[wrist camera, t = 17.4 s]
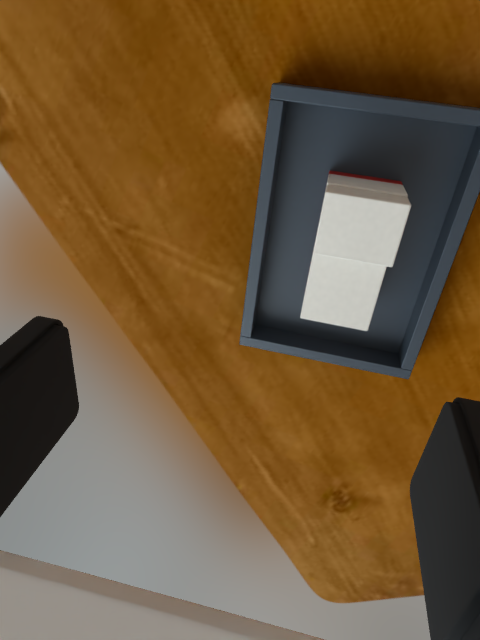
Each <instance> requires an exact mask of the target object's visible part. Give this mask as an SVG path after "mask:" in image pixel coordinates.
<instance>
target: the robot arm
mask: <svg viewBox="0 0 480 640" xmlns="http://www.w3.org/2000/svg"><path fill="white" fill-rule="evenodd" d="M78 410H79V402H78V395H77V388H76V381H75V374H74V367H73V360H72V353H71V345H70V339H69V333H68V329H67V328H66V327H64V326H63V323H62V322H61V321H60V320H56V319H51V318H46V317H41V316H37V317H35V318H33V319H32V320H31V321H29V322H28V323H27V324H26V325H24V326H23V327H22V328H21V329H20V330H18V331H17V332H16V333H15V334H13V335H12V336H11V337H10V338H9V339H7V340H6V341H5V342H4V343H3V344H2V345H0V517H1V515H2V514H3V513H4V511H5V510H6V509H7V507H8V506H9V505H10V504H11V502H12V501H13V500H14V498H15V497H16V496H17V494H18V493H19V492H20V490H21V489H22V488H23V486H24V485H25V484H26V483H27V481H28V480H29V478H30V477H31V476H32V475H33V473H34V472H35V471H36V469H37V468H38V467H39V465H40V464H41V463H42V461H43V460H44V459H45V458H46V456H47V455H48V453H49V452H50V451H51V450H52V448H53V447H54V446H55V444H56V443H57V442H58V440H59V439H60V438H61V436H62V435H63V434H64V432H65V431H66V430H67V429H68V427H69V426H70V425H71V423H72V422H73V421H74V419H75V418H76V416H77V413H78ZM410 497H411V504H412V511H413V518H414V525H415V532H416V539H417V546H418V553H419V560H420V567H421V574H422V581H423V588H424V595H425V602H426V609H427V616H428V623H429V630H430V637H431V640H480V402H479V401H474V400H469V399H464V398H459V397H458V398H456V399H455V400H454V401H453V403H451V402H446V403H445V404H444V406H443V408H442V410H441V413H440V415H439V417H438V419H437V422H436V424H435V426H434V429H433V431H432V433H431V436H430V438H429V440H428V443H427V445H426V447H425V449H424V452H423V454H422V456H421V459H420V461H419V463H418V466H417V468H416V470H415V472H414V475H413V477H412V480H411V484H410ZM0 640H324V639H321V638H317V637H313V636H310V635H306V634H303V633H299V632H296V631H292V630H289V629H285V628H281V627H278V626H274V625H271V624H267V623H263V622H260V621H257V620H253V619H249V618H246V617H242V616H239V615H235V614H232V613H228V612H225V611H221V610H217V609H214V608H210V607H206V606H203V605H199V604H196V603H192V602H188V601H184V600H181V599H177V598H174V597H170V596H166V595H163V594H159V593H155V592H152V591H148V590H145V589H141V588H137V587H133V586H130V585H127V584H123V583H119V582H116V581H112V580H108V579H105V578H101V577H97V576H94V575H90V574H86V573H83V572H79V571H75V570H71V569H68V568H64V567H60V566H56V565H53V564H49V563H45V562H42V561H38V560H34V559H30V558H27V557H23V556H19V555H16V554H12V553H8V552H4V551H1V550H0Z"/></svg>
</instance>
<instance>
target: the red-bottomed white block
mask: <svg viewBox="0 0 480 640" xmlns="http://www.w3.org/2000/svg"><path fill="white" fill-rule="evenodd" d="M410 209H411V204H410V202H409V200H408V194H407V192H406V190H405V188H404V186H403V184H402V182H401V181H396V180H390V179H383V178H376V177H370V176H363V175H356V174H350V173H343V172H336V171H329V175H328V180H327V185H326V190H325V195H324V200H323V205H322V210H321V215H320V220H319V225H318V230H317V235H316V240H315V245H314V250H313V255H312V260H311V265H310V269H309V274H308V279H307V284H306V289H305V294H304V300H303V305H302V310H301V315H300V318H302V319H307V320H312V321H317V322H322V323H328V324H333V325H338V326H343V327H348V328H353V329H358V330H364V331H368V328H369V325H370V322H371V318H372V315H373V312H374V308H375V305H376V301H377V298H378V295H379V291H380V288H381V285H382V281H383V278H384V274H385V271H386V268H387V267H393V264H394V261H395V258H396V255H397V251H398V248H399V245H400V241H401V238H402V235H403V232H404V228H405V225H406V222H407V218H408V215H409V212H410Z"/></svg>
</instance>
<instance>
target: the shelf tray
mask: <svg viewBox="0 0 480 640" xmlns="http://www.w3.org/2000/svg"><path fill="white" fill-rule="evenodd" d="M270 98H271V99H270V104H269V112H268V120H267V128H266V136H265V144H264V152H263V160H262V168H261V176H260V184H259V192H258V200H257V208H256V216H255V224H254V232H253V240H252V248H251V256H250V264H249V272H248V280H247V288H246V296H245V304H244V312H243V320H242V328H241V336H240V343H239V344H240V345H245V346H250V347H254V348H259V349H264V350H269V351H274V352H279V353H283V354H288V355H293V356H298V357H303V358H308V359H313V360H317V361H322V362H327V363H332V364H337V365H342V366H347V367H351V368H356V369H361V370H366V371H371V372H376V373H381V374H385V375H390V376H395V377H400V378H405V379H409V377H410V374H411V372H412V369H413V367H414V364H415V361H416V359H417V356H418V353H419V351H420V348H421V345H422V343H423V340H424V337H425V335H426V332H427V329H428V327H429V324H430V321H431V319H432V316H433V313H434V311H435V308H436V306H437V303H438V300H439V298H440V295H441V292H442V290H443V287H444V284H445V282H446V279H447V276H448V274H449V271H450V268H451V266H452V263H453V260H454V258H455V255H456V253H457V250H458V247H459V245H460V242H461V239H462V237H463V234H464V231H465V229H466V226H467V223H468V221H469V218H470V215H471V213H472V210H473V207H474V205H475V202H476V199H477V197H478V194H479V192H480V108H476V107H468V106H460V105H452V104H444V103H437V102H429V101H421V100H413V99H405V98H397V97H389V96H382V95H374V94H366V93H358V92H350V91H342V90H334V89H326V88H319V87H311V86H303V85H295V84H287V83H273V84H272V89H271V97H270ZM329 171H336V172H343V173H350V174H356V175H363V176H370V177H376V178H383V179H390V180H396V181H401V182H402V184H403V186H404V188H405V190H406V192H407V194H408V200H409V202H410V204H411V209H410V212H409V215H408V218H407V222H406V225H405V228H404V232H403V235H402V238H401V241H400V245H399V248H398V251H397V255H396V258H395V261H394V264H393V267H387V268H386V271H385V274H384V278H383V281H382V285H381V288H380V291H379V295H378V298H377V301H376V305H375V308H374V312H373V315H372V318H371V322H370V325H369V328H368V331H364V330H358V329H353V328H348V327H343V326H338V325H333V324H328V323H322V322H317V321H312V320H307V319H302V318H300V315H301V310H302V305H303V300H304V294H305V289H306V284H307V279H308V274H309V269H310V265H311V260H312V255H313V250H314V245H315V240H316V235H317V230H318V225H319V220H320V215H321V210H322V205H323V200H324V195H325V190H326V185H327V180H328V175H329Z"/></svg>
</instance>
